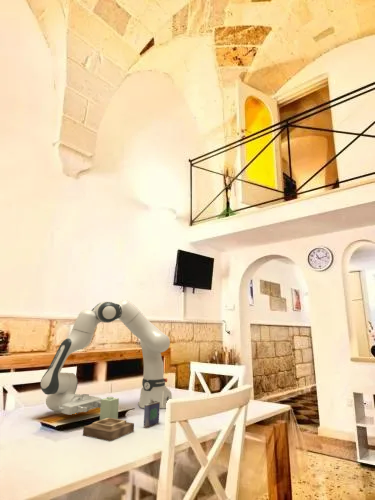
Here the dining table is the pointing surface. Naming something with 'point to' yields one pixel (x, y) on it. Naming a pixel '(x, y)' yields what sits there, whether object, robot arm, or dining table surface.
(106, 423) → the base
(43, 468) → the dining table surface
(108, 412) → the pillar
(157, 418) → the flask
